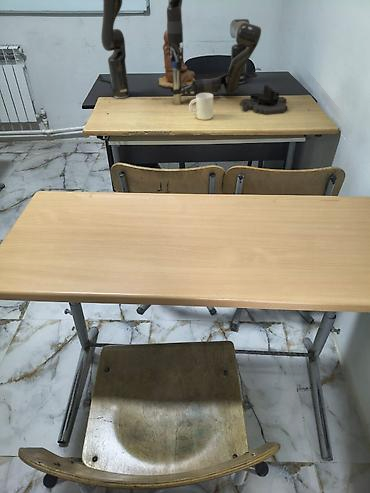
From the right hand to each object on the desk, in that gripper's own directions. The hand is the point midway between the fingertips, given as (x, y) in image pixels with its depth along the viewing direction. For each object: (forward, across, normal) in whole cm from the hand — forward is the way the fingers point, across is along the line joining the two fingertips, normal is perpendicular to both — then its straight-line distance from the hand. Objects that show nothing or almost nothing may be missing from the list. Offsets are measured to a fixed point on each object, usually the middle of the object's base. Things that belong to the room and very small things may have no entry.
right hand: (172, 91), depth 190 cm
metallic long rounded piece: (-3, 0, +6) cm, 7 cm away
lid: (-3, 0, -14) cm, 14 cm away
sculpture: (-14, -36, +6) cm, 39 cm away
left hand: (-3, 0, -11) cm, 11 cm away
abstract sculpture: (-43, +25, +6) cm, 50 cm away
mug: (-7, +25, +6) cm, 27 cm away
